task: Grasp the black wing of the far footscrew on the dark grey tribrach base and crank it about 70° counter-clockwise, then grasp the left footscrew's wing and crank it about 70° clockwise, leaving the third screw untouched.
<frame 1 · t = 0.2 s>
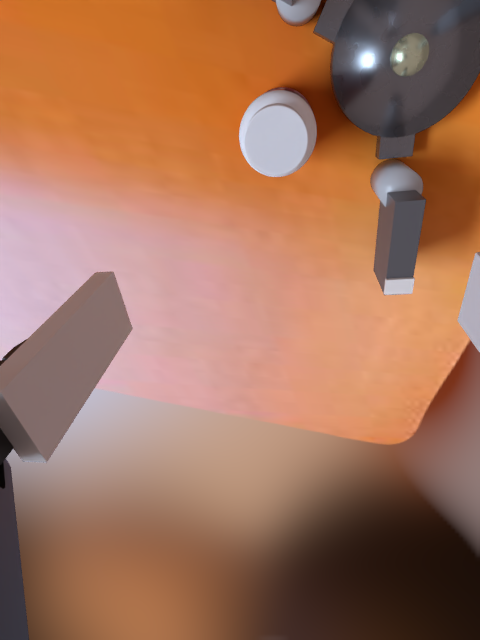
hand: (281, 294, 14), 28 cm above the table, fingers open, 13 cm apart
tribrach base: (401, 56, 31), on the table
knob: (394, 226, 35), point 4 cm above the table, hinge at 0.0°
pill bottle: (280, 124, 35), on the table
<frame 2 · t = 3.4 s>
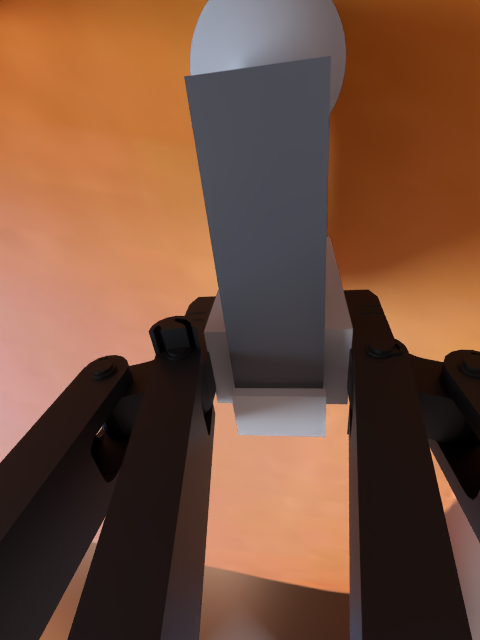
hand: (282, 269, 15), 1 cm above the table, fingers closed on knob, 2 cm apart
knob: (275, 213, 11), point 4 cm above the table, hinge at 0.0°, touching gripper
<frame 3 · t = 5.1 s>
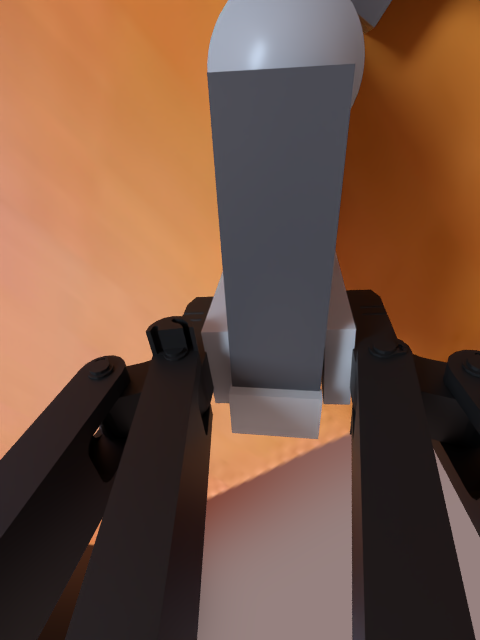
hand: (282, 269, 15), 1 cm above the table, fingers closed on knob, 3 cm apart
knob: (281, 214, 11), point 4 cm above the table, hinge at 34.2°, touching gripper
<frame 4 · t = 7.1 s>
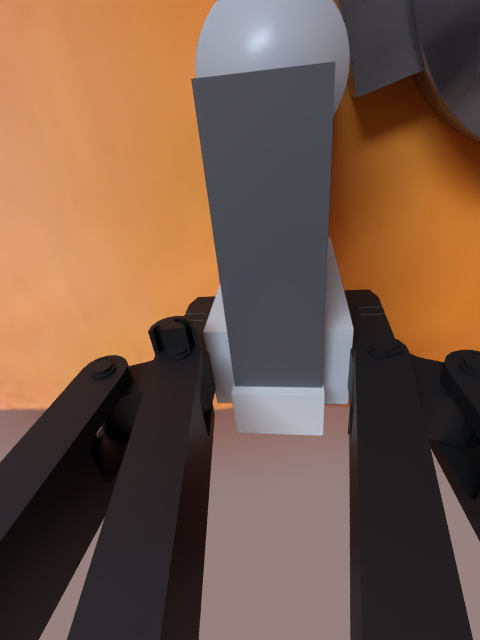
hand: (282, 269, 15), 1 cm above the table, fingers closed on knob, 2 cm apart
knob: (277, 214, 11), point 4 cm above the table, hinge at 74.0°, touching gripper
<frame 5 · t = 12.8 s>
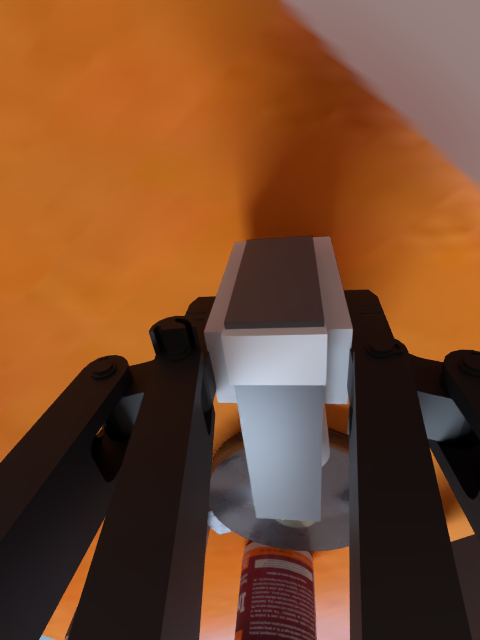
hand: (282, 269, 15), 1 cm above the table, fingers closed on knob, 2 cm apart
tribrach base: (294, 479, 25), on the table
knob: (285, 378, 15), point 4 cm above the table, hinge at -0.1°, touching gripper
pill bottle: (278, 550, 32), on the table
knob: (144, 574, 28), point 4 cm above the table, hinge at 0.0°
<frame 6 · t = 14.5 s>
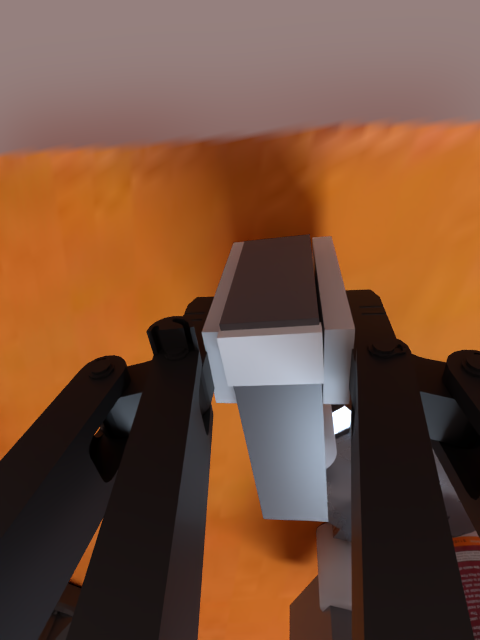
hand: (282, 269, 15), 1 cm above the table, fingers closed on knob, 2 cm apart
tribrach base: (398, 463, 23), on the table
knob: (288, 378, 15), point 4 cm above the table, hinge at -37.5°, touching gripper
pill bottle: (461, 541, 28), on the table
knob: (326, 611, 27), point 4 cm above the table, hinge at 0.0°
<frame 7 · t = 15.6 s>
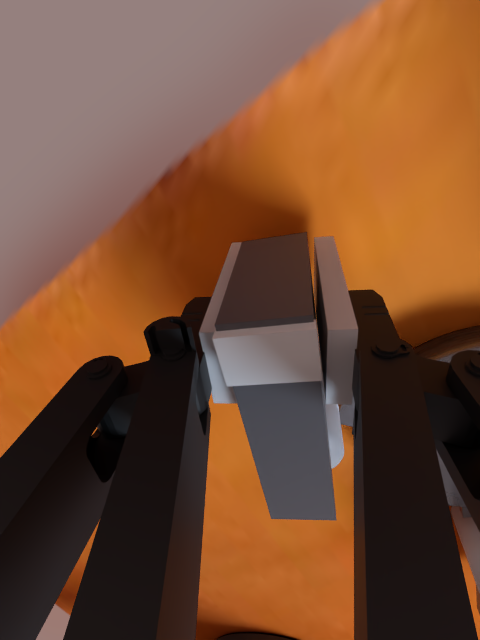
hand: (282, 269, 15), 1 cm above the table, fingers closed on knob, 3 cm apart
tribrach base: (476, 412, 20), on the table
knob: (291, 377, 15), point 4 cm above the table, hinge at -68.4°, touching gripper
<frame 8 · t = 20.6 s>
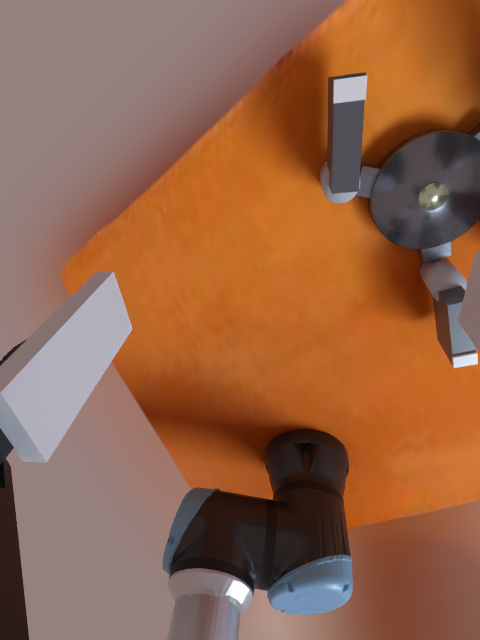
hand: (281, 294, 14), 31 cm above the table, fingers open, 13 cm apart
tribrach base: (425, 190, 39), on the table
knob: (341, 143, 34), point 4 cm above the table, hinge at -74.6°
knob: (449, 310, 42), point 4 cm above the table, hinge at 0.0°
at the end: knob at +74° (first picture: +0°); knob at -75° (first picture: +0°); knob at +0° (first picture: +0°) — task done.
